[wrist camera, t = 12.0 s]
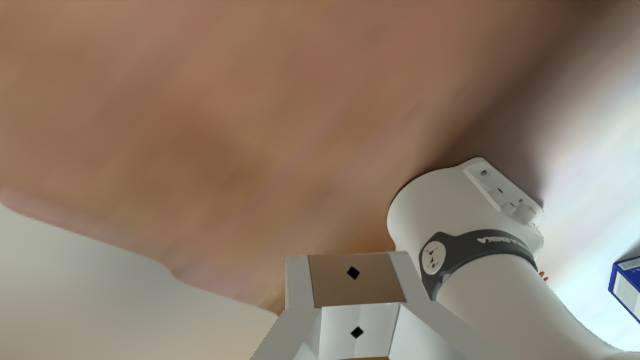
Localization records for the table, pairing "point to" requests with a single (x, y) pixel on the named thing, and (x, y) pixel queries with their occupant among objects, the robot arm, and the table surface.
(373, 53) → the table surface
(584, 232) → the table surface
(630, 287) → the milk carton
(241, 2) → the table surface
